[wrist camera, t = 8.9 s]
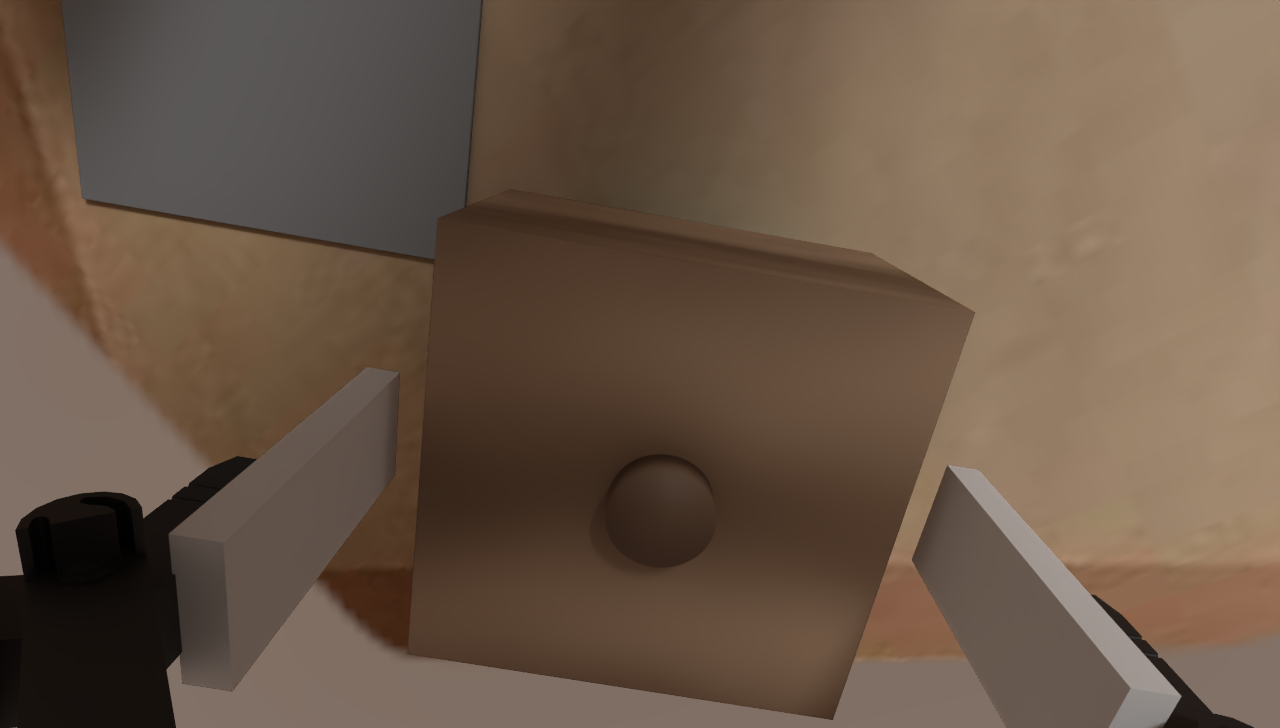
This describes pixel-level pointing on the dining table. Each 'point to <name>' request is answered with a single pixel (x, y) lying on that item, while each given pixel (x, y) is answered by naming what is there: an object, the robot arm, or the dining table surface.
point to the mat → (279, 112)
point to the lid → (666, 449)
